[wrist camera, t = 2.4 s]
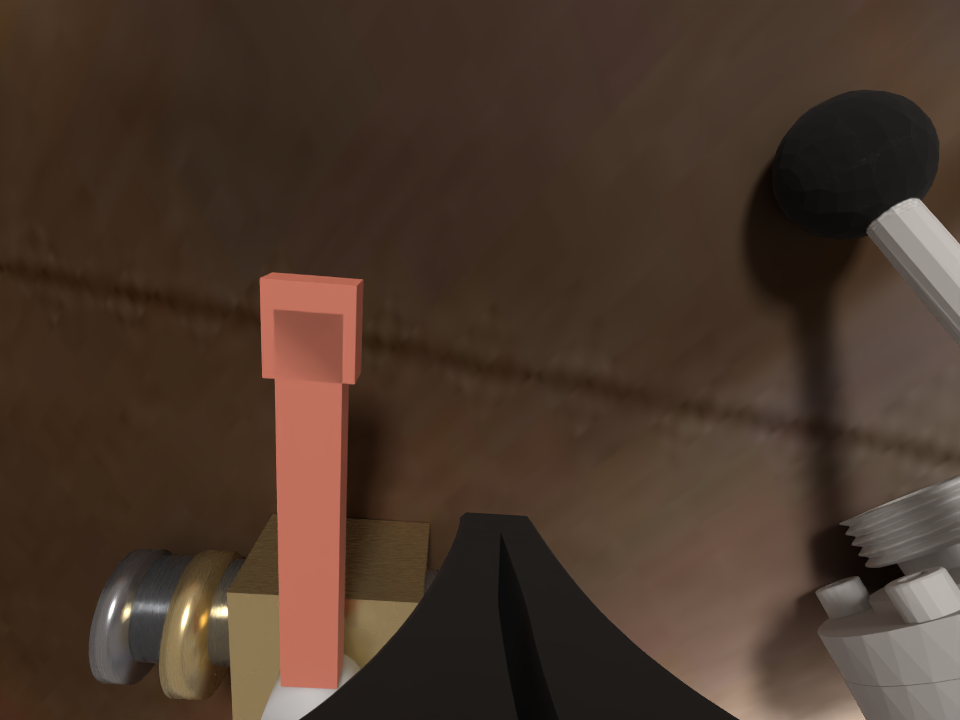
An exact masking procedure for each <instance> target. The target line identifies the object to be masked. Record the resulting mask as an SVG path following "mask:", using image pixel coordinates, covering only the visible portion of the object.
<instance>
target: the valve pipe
mask: <svg viewBox="0 0 960 720" xmlns="http://www.w3.org/2000/svg"><path fill="white" fill-rule="evenodd" d="M429 532H430V523H418V522H402V521H385V520H369V519H352V518H346V555H345V605H344V654H345V655H346V656H348V657H350V658H351V659H352V660H354V661H355V662H356V663H357V664H358V666H359V667H360V668H361V669H362V668H363V667H364V666H365V665H366V664H367V663H368V662H369V661H370V660H371V659H372V658H373V657H374V656H375V655H376V654H377V653H378V652H379V651H380V649H381V648H382V647H383V646H384V645H385V644H386V643H387V642H388V641H389V640H390V638H391V637H392V636H393V635H394V634H395V633H396V632H397V631H398V629H399V628H400V627H401V626H402V624H403V623H404V622H405V621H406V619H407V618H408V617H409V616H410V614H411V613H412V612H413V610H414V609H415V608H416V606H417V605H418V603H419V602H420V601H421V599H422V598H423V596H424V595H425V593H426V591H427V590H428V588H429V587H430V585H431V584H432V582H433V580H434V579H435V577H436V576H437V574H438V572H439V571H440V570H428V569H427V562H428V547H429ZM89 662H90V667H91V670H92V673H93V675H94V677H95V678H96V679H97V680H98V681H99V682H101V683H106V684H127V685H131V684H135V683H137V682H139V681H140V680H142V679H143V678H144V677H145V676H146V675H147V674H148V673H149V671H150V670H151V669H152V667H153V666H154V664H155V663H159V674H160V682H161V686H162V689H163V691H164V693H165V694H166V696H167V697H169V698H173V699H193V700H205V699H208V698H209V697H211V696H212V695H213V694H214V693H215V691H216V690H217V689H218V687H219V685H220V684H221V682H222V680H223V678H224V676H225V674H226V672H227V670H228V668H229V667H230V669H231V690H232V711H233V720H261V718H262V715H263V713H264V710H265V707H266V705H267V702H268V700H269V697H270V694H271V692H272V689H273V686H274V684H275V681H276V679H277V676H278V673H279V671H280V628H279V573H278V518H277V514H272V516H271V518H270V519H269V521H268V523H267V524H266V526H265V528H264V530H263V531H262V533H261V535H260V536H259V538H258V540H257V542H256V543H255V545H254V547H253V548H252V550H251V552H250V554H249V555H248V557H247V559H242V557H241V555H240V554H239V553H238V552H234V551H216V550H204V551H201V552H200V553H198V554H197V555H196V556H182V555H173V554H172V553H171V552H169V551H167V550H158V549H137V550H134V551H132V552H131V553H129V554H128V555H127V556H125V557H124V558H123V559H122V560H121V562H120V563H119V564H118V565H117V567H116V568H115V569H114V571H113V572H112V574H111V576H110V577H109V579H108V581H107V583H106V585H105V587H104V589H103V591H102V594H101V596H100V598H99V601H98V604H97V607H96V610H95V614H94V617H93V621H92V626H91V632H90V639H89Z"/></svg>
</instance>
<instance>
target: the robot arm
mask: <svg viewBox="0 0 960 720" xmlns="http://www.w3.org/2000/svg"><path fill="white" fill-rule="evenodd" d="M299 720H739V719H737V718H736V717H734V716H733V715H731V714H729V713H728V712H726V711H725V710H723V709H722V708H720V707H719V706H717V705H716V704H714V703H713V702H711V701H709V700H708V699H706V698H705V697H703V696H702V695H700V694H699V693H698V692H696V691H695V690H693V689H692V688H690V687H689V686H688V685H686V684H685V683H683V682H682V681H681V680H679V679H678V678H677V677H675V676H674V675H673V674H671V673H670V672H669V671H668V670H666V669H665V668H664V667H662V666H661V665H660V664H659V663H657V662H656V661H655V660H653V659H652V658H651V657H650V656H648V655H647V654H646V653H645V652H644V651H642V650H641V649H640V648H639V647H638V646H637V645H635V644H634V643H633V642H632V641H631V640H630V639H629V638H628V637H627V636H626V635H624V634H623V633H622V632H621V631H620V630H619V629H618V628H617V627H616V626H615V625H614V624H613V623H612V622H610V621H609V620H608V619H607V618H606V616H605V615H604V614H603V613H602V612H601V611H600V610H599V609H598V608H597V607H596V606H595V605H594V604H593V603H592V602H591V600H590V599H589V598H588V597H587V596H586V595H585V594H584V592H583V591H582V590H581V589H580V588H579V587H578V585H577V584H576V583H575V582H574V580H573V579H572V578H571V577H570V575H569V574H568V573H567V571H566V570H565V569H564V568H563V566H562V565H561V564H560V562H559V561H558V560H557V558H556V557H555V556H554V554H553V553H552V552H551V550H550V549H549V547H548V546H547V544H546V543H545V542H544V540H543V539H542V537H541V536H540V534H539V533H538V531H537V530H536V528H535V527H534V525H533V524H532V522H531V521H530V520H529V518H528V517H527V516H516V515H500V514H483V513H467V512H466V513H465V514H464V515H463V516H461V517H460V525H459V529H458V532H457V535H456V537H455V540H454V542H453V545H452V547H451V549H450V551H449V553H448V555H447V557H446V559H445V561H444V563H443V565H442V567H441V569H440V571H439V572H438V574H437V576H436V577H435V579H434V580H433V582H432V584H431V585H430V587H429V588H428V590H427V591H426V593H425V595H424V596H423V598H422V599H421V601H420V602H419V603H418V605H417V606H416V608H415V609H414V610H413V612H412V613H411V614H410V616H409V617H408V618H407V619H406V621H405V622H404V623H403V624H402V626H401V627H400V628H399V629H398V631H397V632H396V633H395V634H394V635H393V636H392V637H391V638H390V640H389V641H388V642H387V643H386V644H385V645H384V646H383V647H382V648H381V649H380V651H379V652H378V653H377V654H376V655H375V656H374V657H373V658H372V659H371V660H370V661H369V662H368V663H367V664H366V665H365V666H364V667H363V668H362V669H360V670H359V671H358V672H357V673H356V674H355V675H354V676H353V677H351V678H350V679H349V680H348V681H347V682H346V683H345V684H344V685H342V686H341V687H340V688H339V689H338V690H337V691H336V692H335V693H333V694H332V695H331V696H330V697H329V698H327V699H326V700H325V701H324V702H322V703H321V704H320V705H319V706H317V707H316V708H314V709H313V710H312V711H310V712H309V713H308V714H306V715H305V716H303V717H302V718H301V719H299Z"/></svg>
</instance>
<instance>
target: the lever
mask: <svg viewBox="0 0 960 720" xmlns="http://www.w3.org/2000/svg"><path fill="white" fill-rule="evenodd" d="M260 305H261V345H262V378H274V379H275V408H276V463H277V518H278V573H279V628H280V671H279V673H278V676H277V679H276V681H275V684H274V686H273V689H272V692H271V694H270V697H269V700H268V702H267V705H266V707H265V710H264V713H263V715H262V718H261V720H299V719H301V718H302V717H303V716H305V715H306V714H308V713H309V712H310V711H312V710H313V709H314V708H316V707H317V706H319V705H320V704H321V703H322V702H324V701H325V700H326V699H327V698H329V697H330V696H331V695H332V694H333V693H335V692H336V691H337V690H338V689H339V688H340V687H341V686H342V685H344V684H345V683H346V682H347V681H348V680H349V679H350V678H351V677H353V676H354V675H355V674H356V673H357V672H358V671H359V670H360V669H361V668H360V667H359V666H358V664H357V663H356V662H355V661H354V660H352V659H351V658H350V657H348V656H346V655H345V654H344V605H345V555H346V504H347V454H348V404H349V384H355V382H356V381H357V379H358V377H359V375H360V373H361V351H362V312H363V280H362V279H349V278H337V277H324V276H311V275H298V274H286V273H273V272H272V273H270V274H268V275H266V276H264V277H261V278H260Z"/></svg>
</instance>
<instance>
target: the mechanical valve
mask: <svg viewBox="0 0 960 720" xmlns="http://www.w3.org/2000/svg"><path fill="white" fill-rule="evenodd" d="M938 161H939V140H938V136H937V133H936V130H935V127H934V125H933V123H932V121H931V119H930V118H929V117H928V116H927V115H926V114H925V113H924V112H923V111H922V110H921V109H920V108H919V107H918V106H917V105H916V104H915V103H914V102H913V101H911V100H909V99H907V98H905V97H904V96H900V95H897V94H893V93H889V92H885V91H872V90H859V91H850V92H847V93H844V94H841V95H837V96H835V97H833V98H831V99H829V100H827V101H824V102H822V103H820V104H818V105H817V106H815V107H813V108H811V109H810V110H808V111H807V112H806V113H805V114H803V115H802V116H801V117H800V118H799V119H798V120H797V121H796V123H795V124H794V125H793V126H792V128H791V129H790V130H789V131H788V133H787V134H786V135H785V136H784V138H783V139H782V141H781V143H780V145H779V147H778V149H777V152H776V156H775V159H774V163H773V167H772V185H773V193H774V195H775V198H776V200H777V203H778V205H779V207H780V209H781V211H782V212H783V213H784V214H785V215H786V216H787V217H788V218H789V219H790V220H791V221H792V222H793V223H794V224H795V225H797V226H798V227H800V228H801V229H803V230H805V231H806V232H808V233H811V234H814V235H816V236H821V237H827V238H834V239H854V238H860V237H864V236H867V235H868V236H869V237H870V238H871V239H872V241H873V242H874V243H875V244H876V245H877V247H878V248H879V249H880V250H881V251H882V253H883V254H884V255H885V256H886V258H887V259H888V260H889V261H890V262H891V264H892V265H893V266H894V267H895V269H896V270H897V271H898V272H899V273H900V275H901V276H902V277H903V278H904V280H905V281H906V282H907V283H908V284H909V286H910V287H911V288H912V289H913V291H914V292H915V293H916V294H917V295H918V297H919V298H920V299H921V300H922V302H923V303H924V304H925V305H926V306H927V308H928V309H929V310H930V311H931V313H932V314H933V315H934V316H935V317H936V319H937V320H938V321H939V322H940V323H941V325H942V326H943V327H944V328H945V330H946V331H947V332H948V333H949V334H950V336H951V337H952V338H953V339H954V341H955V342H956V343H957V344H958V345H959V347H960V244H959V243H958V242H957V241H956V240H955V239H954V237H953V236H952V235H951V234H950V233H949V232H948V231H947V230H946V228H945V227H944V226H943V225H942V224H941V223H940V222H939V221H938V220H937V218H936V217H935V216H934V215H933V214H932V213H931V212H930V211H929V209H928V208H927V207H926V206H925V205H924V204H923V203H922V202H921V200H922V199H923V198H924V197H925V195H926V194H927V192H928V190H929V189H930V187H931V186H932V183H933V181H934V178H935V176H936V173H937V169H938ZM839 524H840V525H845V526H849V529H848V530H847V532H846V535H849V536H855V537H856V538H855V539H854V541H853V542H852V545H854V546H860V547H863V548H862V550H861V551H860V553H859V554H858V555H859V556H863V557H868V558H869V560H868V561H867V563H866V564H865V566H866V567H869V568H879V567H884V566H888V565H893V564H898V565H899V567H900V568H901V570H902V571H903V573H904V574H905V576H904V577H901V578H898V579H896V580H894V581H892V582H890V583H888V584H887V585H885V587H883V588H881V589H879V590H878V591H876V592H875V593H873V594H872V595H870V594H869V592H868V590H867V589H866V587H865V586H864V584H863V582H862V581H861V579H860V578H859V577H858V576H853V577H849V578H845V579H842V580H839V581H836V582H834V583H831V584H828V585H826V586H824V587H821V588H819V589H818V590H817V591H816V592H815V593H816V595H817V597H818V599H819V600H820V602H821V604H822V606H823V608H824V610H825V611H826V613H827V615H828V617H829V618H828V619H827V620H826V621H824V622H823V623H822V624H821V625H820V627H819V628H818V631H817V633H818V635H819V637H820V638H821V640H822V642H823V644H824V645H825V647H826V649H827V651H828V652H829V654H830V656H831V658H832V659H833V661H834V663H835V665H836V666H837V668H838V670H839V672H840V673H841V675H842V677H843V679H844V680H845V682H846V684H847V686H848V688H849V689H850V691H851V693H852V695H853V697H854V699H855V700H856V702H857V704H858V706H859V708H860V710H861V711H862V713H863V715H864V717H865V719H866V720H960V475H958V476H955V477H952V478H949V479H947V480H944V481H941V482H939V483H936V484H934V485H931V486H928V487H926V488H923V489H921V490H918V491H916V492H913V493H910V494H908V495H905V496H903V497H900V498H898V499H895V500H893V501H890V502H888V503H885V504H883V505H880V506H878V507H875V508H873V509H871V510H868V511H866V512H864V513H862V514H859V515H857V516H855V517H853V518H850V519H848V520H845V521H843V522H841V523H839Z"/></svg>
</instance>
